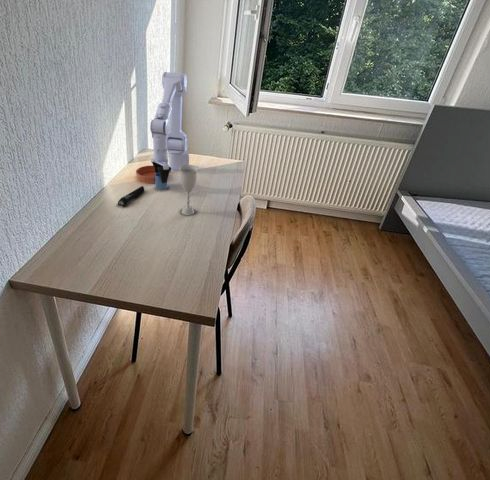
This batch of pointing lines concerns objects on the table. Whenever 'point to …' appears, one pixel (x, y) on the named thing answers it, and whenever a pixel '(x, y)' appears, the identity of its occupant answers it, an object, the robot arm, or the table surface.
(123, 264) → the table surface
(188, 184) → the chalice
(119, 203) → the electric trimmer
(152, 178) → the bowl
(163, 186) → the blue cup
